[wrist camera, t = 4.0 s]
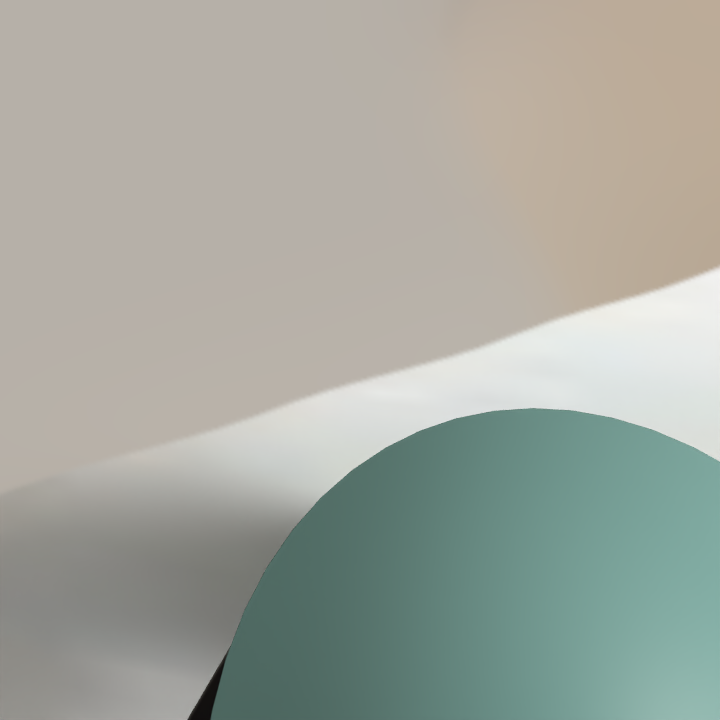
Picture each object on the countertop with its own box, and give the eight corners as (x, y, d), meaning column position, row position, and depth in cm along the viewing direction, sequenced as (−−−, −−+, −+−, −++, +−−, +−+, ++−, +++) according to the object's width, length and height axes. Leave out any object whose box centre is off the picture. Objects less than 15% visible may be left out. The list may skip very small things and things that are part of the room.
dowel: (430, 712, 14) (855, 1915, 2) (318, 612, 15) (37, 856, 3) (507, 585, 15) (1101, 698, 3) (398, 501, 16) (469, 304, 4)
